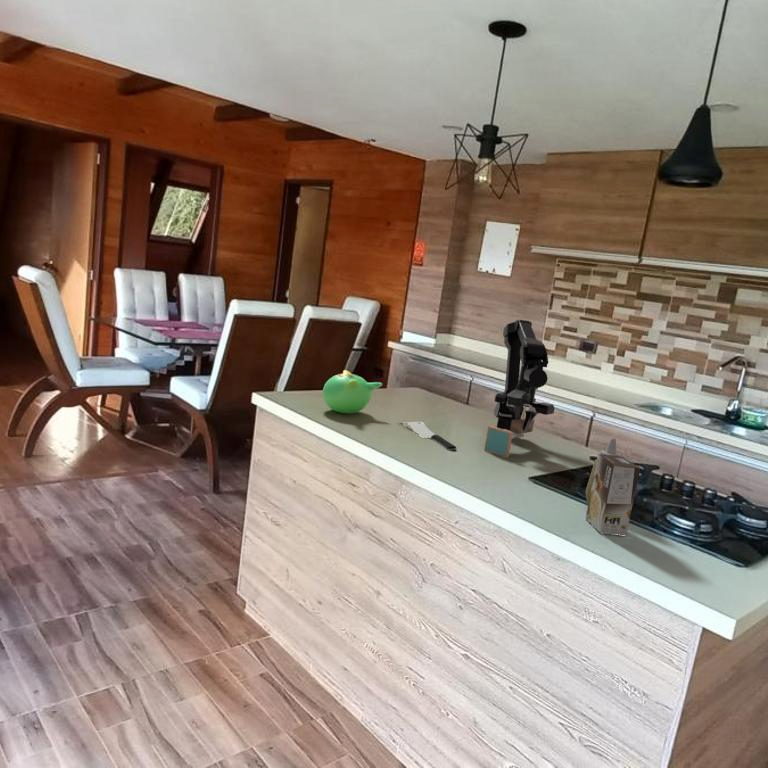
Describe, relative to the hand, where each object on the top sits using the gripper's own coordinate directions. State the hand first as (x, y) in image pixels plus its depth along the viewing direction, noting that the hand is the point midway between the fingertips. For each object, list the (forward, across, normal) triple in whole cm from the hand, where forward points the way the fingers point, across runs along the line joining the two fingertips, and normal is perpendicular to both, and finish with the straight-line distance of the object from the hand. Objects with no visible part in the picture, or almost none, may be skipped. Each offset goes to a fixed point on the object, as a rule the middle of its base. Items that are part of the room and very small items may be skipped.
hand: (519, 429), depth 205 cm
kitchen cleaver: (+7, -24, -18) cm, 30 cm away
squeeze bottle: (+7, +40, -31) cm, 51 cm away
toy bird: (+7, -56, -21) cm, 61 cm away
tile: (+3, 0, -13) cm, 13 cm away
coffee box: (+7, +46, -43) cm, 63 cm away
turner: (+1, 0, -3) cm, 3 cm away
